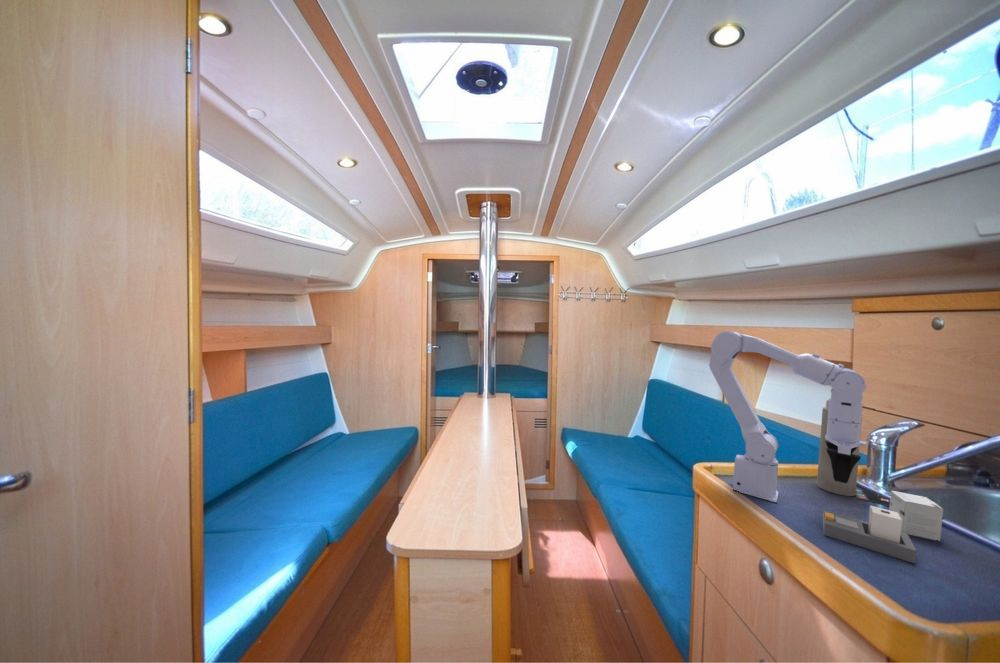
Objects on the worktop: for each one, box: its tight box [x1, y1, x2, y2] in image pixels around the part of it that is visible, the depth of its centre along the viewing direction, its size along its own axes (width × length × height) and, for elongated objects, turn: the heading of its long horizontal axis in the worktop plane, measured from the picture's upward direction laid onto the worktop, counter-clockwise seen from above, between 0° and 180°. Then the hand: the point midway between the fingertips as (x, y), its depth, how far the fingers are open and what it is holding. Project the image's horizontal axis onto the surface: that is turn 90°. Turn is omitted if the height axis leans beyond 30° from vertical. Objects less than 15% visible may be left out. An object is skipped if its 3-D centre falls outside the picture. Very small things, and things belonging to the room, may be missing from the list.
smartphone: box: [854, 488, 890, 507], centre depth 94 cm, size 8×15×1 cm, turn 56°
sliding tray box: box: [822, 509, 917, 564], centre depth 76 cm, size 13×8×3 cm, turn 50°
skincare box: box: [888, 490, 944, 542], centre depth 80 cm, size 6×6×7 cm
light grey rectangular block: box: [868, 505, 902, 543], centre depth 74 cm, size 4×4×7 cm
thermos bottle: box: [816, 388, 863, 497], centre depth 100 cm, size 8×8×28 cm
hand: (839, 476), depth 85 cm, fingers open, 7 cm apart
